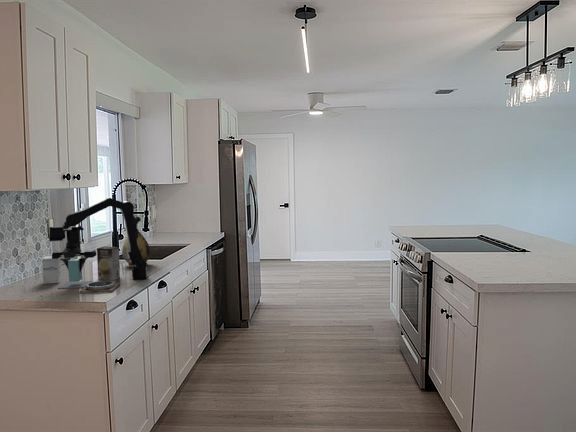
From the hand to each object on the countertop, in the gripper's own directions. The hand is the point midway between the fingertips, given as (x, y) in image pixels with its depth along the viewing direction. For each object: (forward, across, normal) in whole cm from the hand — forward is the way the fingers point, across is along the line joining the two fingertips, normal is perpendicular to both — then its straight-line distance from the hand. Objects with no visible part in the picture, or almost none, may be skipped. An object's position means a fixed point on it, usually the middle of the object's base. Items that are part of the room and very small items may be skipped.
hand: (75, 272), depth 220 cm
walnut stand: (+6, +14, -9) cm, 18 cm away
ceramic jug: (+7, +19, +44) cm, 48 cm away
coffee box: (+7, +12, +13) cm, 19 cm away
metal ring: (+6, +14, -9) cm, 18 cm away
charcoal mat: (+6, 0, 0) cm, 7 cm away
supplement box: (+7, -14, +9) cm, 18 cm away
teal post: (+4, 0, 0) cm, 4 cm away
